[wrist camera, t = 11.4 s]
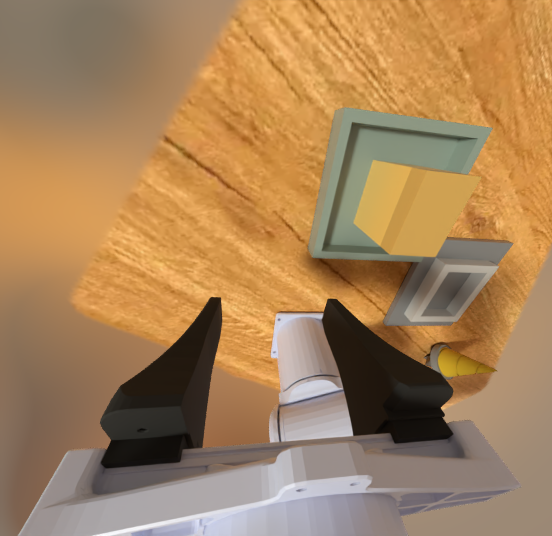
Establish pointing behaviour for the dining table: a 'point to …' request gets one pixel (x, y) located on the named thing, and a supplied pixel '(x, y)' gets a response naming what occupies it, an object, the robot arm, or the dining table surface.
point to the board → (445, 282)
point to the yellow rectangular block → (412, 206)
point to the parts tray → (357, 162)
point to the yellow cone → (453, 363)
